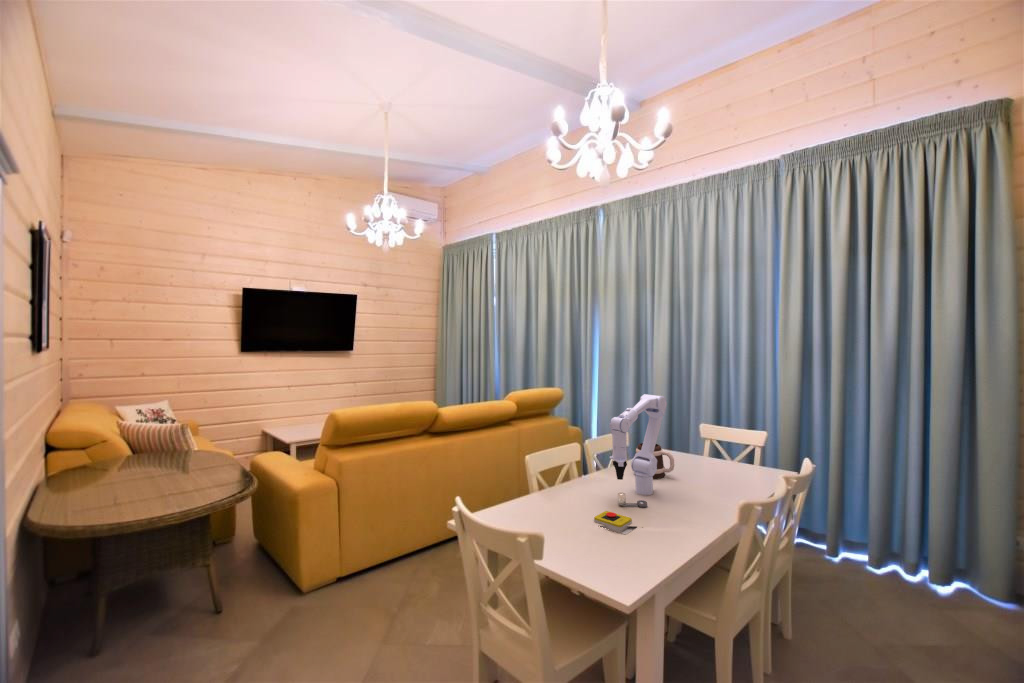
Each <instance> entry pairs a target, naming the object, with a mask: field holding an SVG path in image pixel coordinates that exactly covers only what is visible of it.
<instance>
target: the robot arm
mask: <svg viewBox="0 0 1024 683" xmlns="http://www.w3.org/2000/svg"><path fill="white" fill-rule="evenodd" d="M667 405H668V402H667V399H666V397H665V395H654V394H647V393H644V394H642V395H641V396H640V398H639V401H638V402H637V403H636V404H635V405H634V406H633V407H627V408H626V409H625V410H624V411H623V412H622V413H620V414H619V415H618V416H614V417H612V418H611V419H610V421H609V424H608V427H609V429H610V434H611V436H612V455H611V456H609V459H610V460H612V465H613V467H614V470H615V476H616V478H617V479H616V480H618V481H619V480H623V479H624V476H625V474H624V473H625V470H626V467H627V466H628V463H627V460H628V456H627V455H628V454H627V453H628V451H627V450H628V444H627V441H628V437H627V432H629V430H630V427H631V425H632V424H633V423H634V422H636V420H638V418H639V415H640V414H641V413H643V412H645V413H646V414H647V415H648V416H649V419H648V423H647V426H646V430H645V434H644V438H643V441H642V443H643V445H642V448H641V451H639V452H638V453H637V452H635V454H634V457H633V458H632V461H631V464H630V467H631V470H632V471H633V474H634V475H635V478H634V479H635V481H634V482H635V493H636V494H638V495H642V496H651V495H653V494H654V493H653V489H654V479H653V476H654V474H655V473H656V471H657V459H656V458H655V456H654V455H653V452H654V448H655V444H657V441H658V436H659V432H660V429H661V424H662V420H663V417H664V416H665V413H666V409H667ZM645 459H647V460H645ZM649 460H650V461H649Z"/></svg>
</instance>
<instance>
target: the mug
mask: <svg viewBox="0 0 1024 683" xmlns="http://www.w3.org/2000/svg"><path fill="white" fill-rule="evenodd" d="M642 445H643V442H641V443H639V444H637V447H636V448H635V453H638V452H639V451H641V448H642ZM653 455H654V456H655V458H656V459H657V471H656V473H655V474H654V476H653V480H655V479H657V480H658V479H662V478H664V476H665V475H666V473H668V474H670V473H672V472H673V471H674V470H675V458H674V456H673V455H672V453H671V452H670V451H666V450H663V448H662V446H661V445H660V444H658V443H656V444H655V448H654V452H653ZM663 456H667V457H668V458H669V468H666V467H665V465H664V457H663ZM645 460H647V459H645ZM649 461H650V460H649Z"/></svg>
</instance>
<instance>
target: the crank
mask: <svg viewBox="0 0 1024 683" xmlns="http://www.w3.org/2000/svg"><path fill="white" fill-rule="evenodd" d="M626 496H627V495H626V493H625V492H617V504H618V506H622V507H629V508H634V507H635V508H640V509H646V508H647V507H648V502H647V501H646V500H640V499H639V500H637V501H636V502H627V500H626V498H627V497H626Z"/></svg>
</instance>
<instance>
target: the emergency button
mask: <svg viewBox="0 0 1024 683" xmlns="http://www.w3.org/2000/svg"><path fill="white" fill-rule="evenodd" d="M593 522H594V523H597V524H600V525H599V526H600V527H599V528H602V527H603V528H602V529H605V528H606V529H605V530H608V529H609V530H608V531H611V530H612V531H611V532H614V531H615V533H617V532H618V534H620V533H621V535H625V536H627V535H628V534H630V533H632V532H633V531H635V530H636V529H638V526H632V525H631V524H632V523H633V518H632V517H629V516H626V515H622V514H619V513H617V512H612V511H608V510H604V511H603V512H601V513H599V514H597V515H596V516H594V518H593ZM630 525H631V526H630Z"/></svg>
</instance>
